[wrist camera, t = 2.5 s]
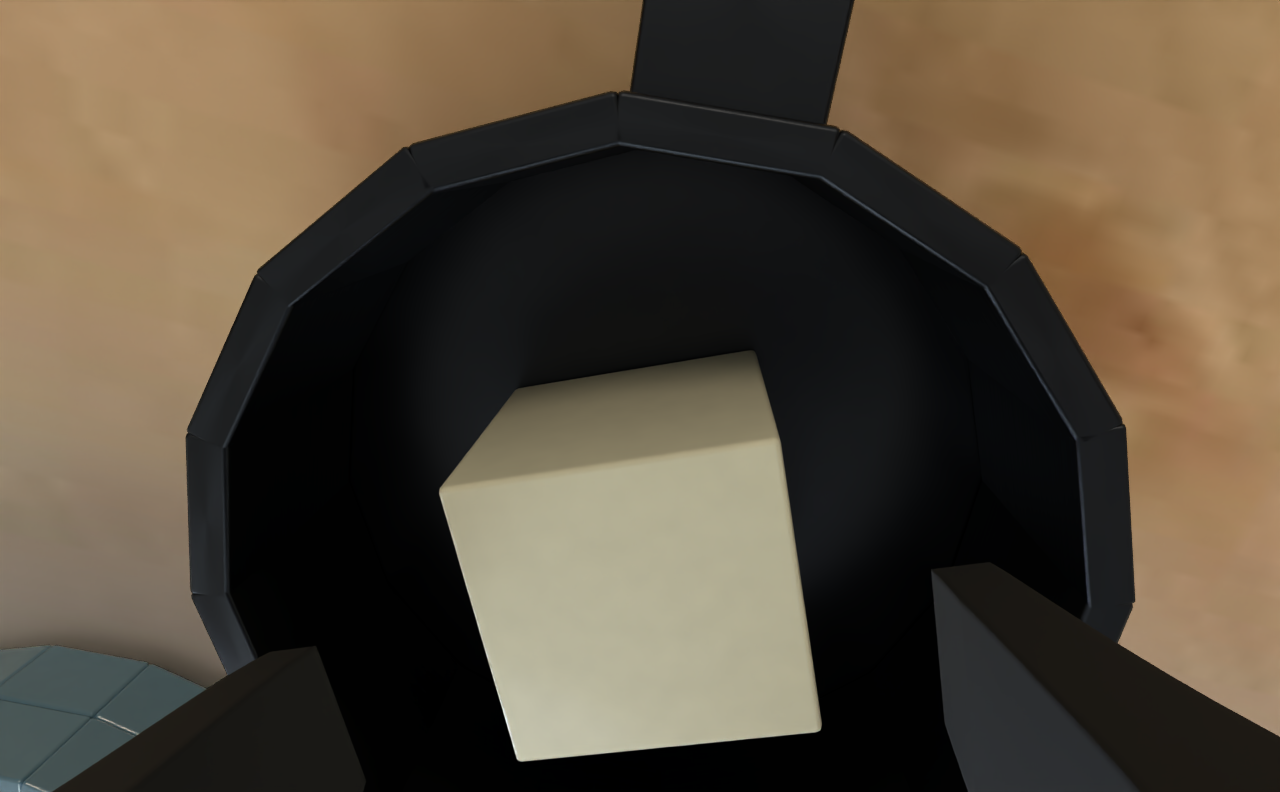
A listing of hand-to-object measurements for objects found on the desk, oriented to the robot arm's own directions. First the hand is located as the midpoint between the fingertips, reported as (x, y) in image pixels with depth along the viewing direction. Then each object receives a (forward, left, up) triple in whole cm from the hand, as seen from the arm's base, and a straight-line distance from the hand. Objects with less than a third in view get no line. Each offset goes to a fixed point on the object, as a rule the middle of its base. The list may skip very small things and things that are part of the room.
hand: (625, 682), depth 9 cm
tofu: (0, 0, -6) cm, 6 cm away
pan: (0, 0, -6) cm, 6 cm away
